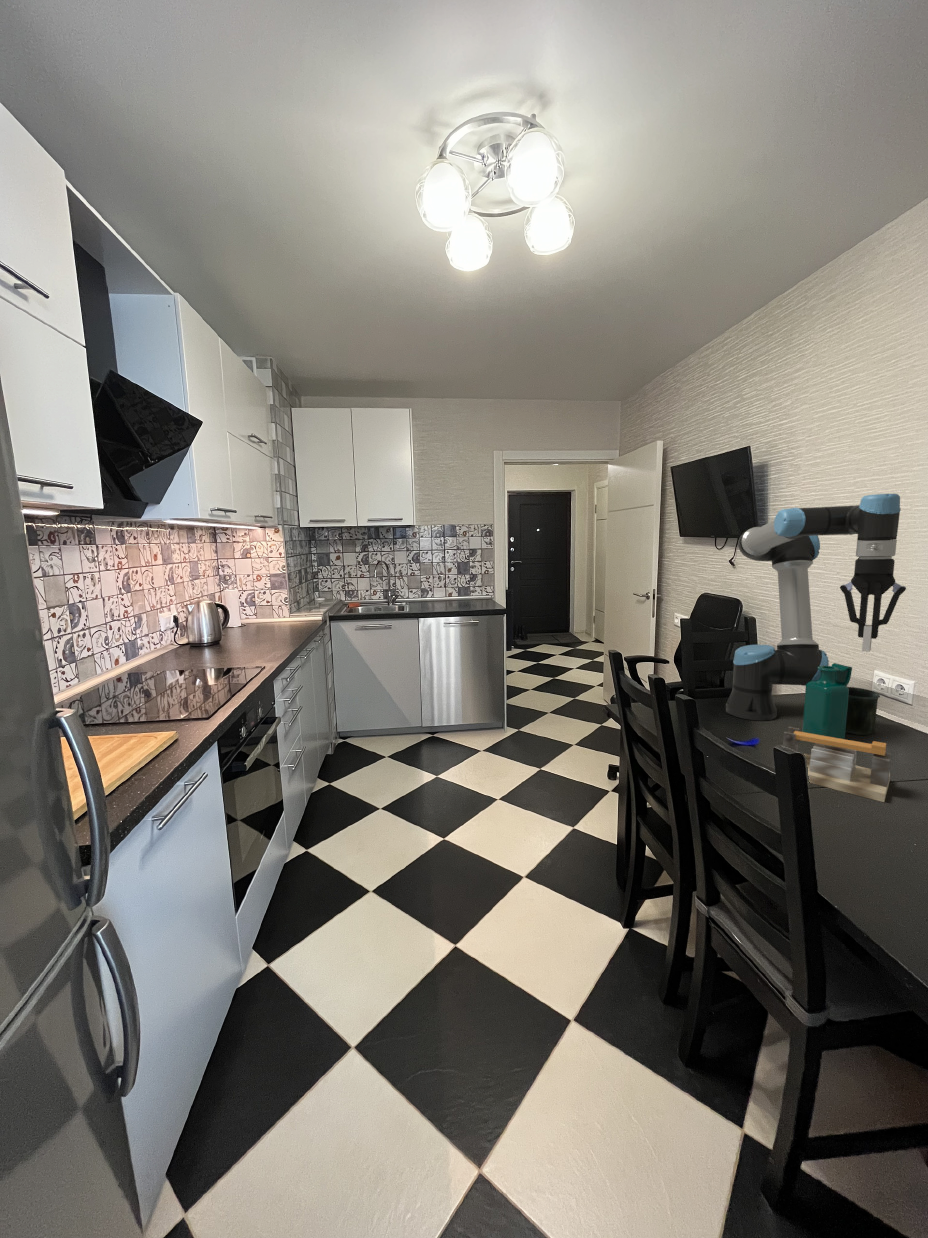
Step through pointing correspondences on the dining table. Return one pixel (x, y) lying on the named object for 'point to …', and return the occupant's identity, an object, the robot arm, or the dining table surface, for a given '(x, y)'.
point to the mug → (861, 711)
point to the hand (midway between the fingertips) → (866, 650)
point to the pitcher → (827, 702)
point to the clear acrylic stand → (844, 769)
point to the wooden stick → (843, 743)
